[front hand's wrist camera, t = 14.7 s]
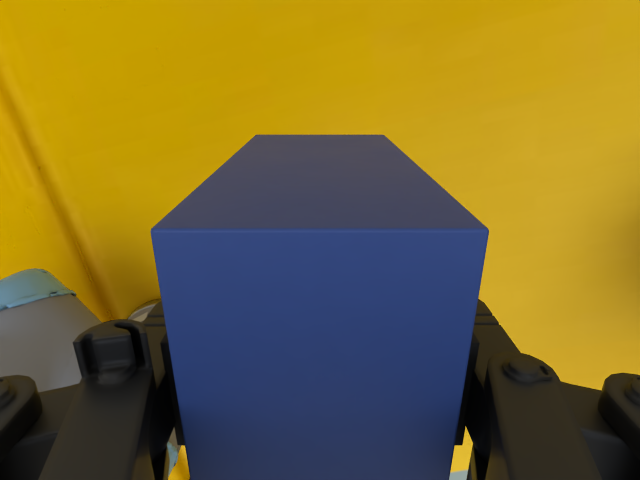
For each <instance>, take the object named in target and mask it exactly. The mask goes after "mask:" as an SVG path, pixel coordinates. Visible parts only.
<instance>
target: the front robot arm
mask: <svg viewBox="0 0 640 480" xmlns="http://www.w3.org/2000/svg"><path fill="white" fill-rule="evenodd" d="M465 426H466V427H467V430H468V432H469V435H470V437H471V439H472V442H473V447H472V452H471V458H470V463H469V469H468V474H467V480H640V375H636V374H628V373H618V374H611V375H610V376H609V377H608V378H606V379H605V382H604V385H603V388H602V391H601V390H596V389H591V388H587V387H582V386H577V385H572V384H568V383H565V382H561V381H560V380H559V377H558V376H557V374H556V373H555V372H554V370H553V369H552V368H551V367H550V366H548V365H547V364H546V363H544V362H543V361H541V360H539V359H537V358H535V357H532V356H530V355H527V354H523V353H520V351H519V350H518V349H517V347H516V346H515V344H514V343H513V342H512V340H511V339H510V338H509V336H508V335H507V333H506V332H505V331H504V329H503V328H502V327H501V325H499V322H498V321H497V320H496V318H495V317H494V316H492V313H491V311H490V310H489V309H488V307H487V306H486V305H485V303H484V302H482V301H481V300H479V299H478V302H477V309H476V315H475V321H474V327H473V333H472V340H471V346H470V352H469V358H468V364H467V371H466V377H465V383H464V389H463V396H462V402H461V408H460V414H459V420H458V427H457V433H456V439H455V445H462V444H463V438H464V432H465ZM181 445H185V442H184V435H183V429H182V423H181V417H180V411H179V404H178V398H177V392H176V386H175V380H174V373H173V367H172V361H171V355H170V349H169V343H168V336H167V330H166V324H165V318H164V312H163V305H162V299H156V300H153V301H149V302H147V303H145V304H143V305H141V306H140V307H138V308H137V309H136V310H135V311H134V312H133V313H132V314H131V315H130V316H129V318H128V319H118V320H112V321H108V322H103V323H102V322H101V321H100V320H99V319H98V318H97V317H96V316H95V315H94V314H93V313H92V312H91V311H90V310H89V309H88V308H87V307H86V306H85V305H84V304H83V303H82V302H81V301H80V300H79V299H78V298H77V297H76V293H75V292H74V291H72V290H69V289H67V288H66V287H65V286H64V285H63V284H62V283H61V282H60V281H59V280H58V279H56V278H55V277H54V276H53V275H52V274H51V273H49V272H48V271H45V270H43V269H28V270H24V271H21V272H18V273H15V274H13V275H11V276H8V277H6V278H4V279H2V280H0V480H168V477H169V475H170V473H171V471H172V468H173V467H174V466H175V464H176V462H177V459H178V453H179V450H180V447H181ZM189 480H191V479H189Z"/></svg>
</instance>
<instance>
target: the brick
mask: <svg viewBox="0 0 640 480" xmlns="http://www.w3.org/2000/svg"><path fill="white" fill-rule="evenodd" d="M488 234H489V230H488V228H487V227H486V226H484V225H483V224H482V223H481V222H480V221H479V220H478V219H477V218H476V217H474V216H473V215H472V214H471V213H470V212H469V211H468V210H467V209H466V208H464V207H463V206H462V205H461V204H460V203H459V202H458V201H457V200H456V199H454V198H453V197H452V196H451V195H450V194H449V193H448V192H447V191H446V190H444V189H443V188H442V187H441V186H440V185H439V184H438V183H437V182H436V181H434V180H433V179H432V178H431V177H430V176H429V175H428V174H427V173H426V172H424V171H423V170H422V169H421V168H420V167H419V166H418V165H417V164H416V163H414V162H413V161H412V160H411V159H410V158H409V157H408V156H407V155H405V154H404V153H403V152H402V151H401V150H400V149H399V148H398V147H397V146H395V145H394V144H393V143H392V142H391V141H390V140H389V139H388V138H387V137H385V136H384V135H255V136H254V137H253V138H252V139H251V140H250V141H249V142H248V143H246V144H245V145H244V146H243V147H242V148H241V149H240V150H239V151H238V152H236V153H235V154H234V155H233V156H232V157H231V158H230V159H229V160H228V161H226V162H225V163H224V164H223V165H222V166H221V167H220V168H219V169H217V170H216V171H215V172H214V173H213V174H212V175H211V176H210V177H209V178H207V179H206V180H205V181H204V182H203V183H202V184H201V185H200V186H199V187H197V188H196V189H195V190H194V191H193V192H192V193H191V194H190V195H188V196H187V197H186V198H185V199H184V200H183V201H182V202H181V203H180V204H178V205H177V206H176V207H175V208H174V209H173V210H172V211H171V212H170V213H168V214H167V215H166V216H165V217H164V218H163V219H162V220H161V221H159V222H158V223H157V224H156V225H155V226H154V227H153V228H152V229H151V237H152V243H153V250H154V256H155V262H156V268H157V274H158V281H159V287H160V293H161V299H162V305H163V312H164V318H165V324H166V330H167V336H168V343H169V349H170V355H171V361H172V367H173V373H174V380H175V386H176V392H177V398H178V404H179V411H180V417H181V423H182V429H183V435H184V442H185V448H186V454H187V460H188V466H189V473H190V479H191V480H449V476H450V470H451V464H452V458H453V451H454V445H455V439H456V433H457V427H458V420H459V414H460V408H461V402H462V396H463V389H464V383H465V377H466V371H467V364H468V358H469V352H470V346H471V340H472V333H473V327H474V321H475V315H476V309H477V302H478V296H479V290H480V284H481V277H482V271H483V265H484V259H485V253H486V246H487V240H488Z"/></svg>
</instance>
